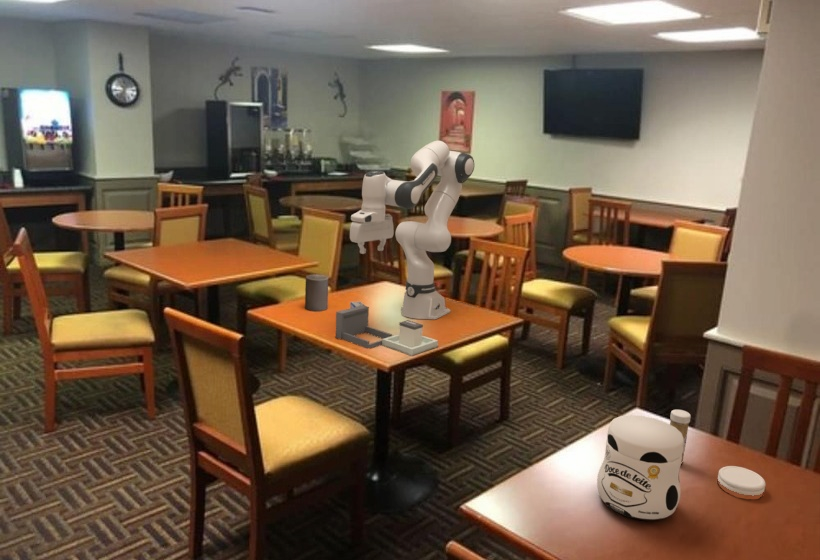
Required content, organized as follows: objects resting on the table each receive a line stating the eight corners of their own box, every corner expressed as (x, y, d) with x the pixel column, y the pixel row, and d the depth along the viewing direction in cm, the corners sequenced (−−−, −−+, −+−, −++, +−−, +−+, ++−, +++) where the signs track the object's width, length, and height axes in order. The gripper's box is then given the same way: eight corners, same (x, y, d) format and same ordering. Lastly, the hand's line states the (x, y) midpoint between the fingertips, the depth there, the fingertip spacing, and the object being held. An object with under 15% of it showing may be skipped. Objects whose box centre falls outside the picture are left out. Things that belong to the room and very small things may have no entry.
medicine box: (349, 322, 265) (349, 301, 263) (359, 321, 267) (360, 301, 265) (355, 328, 258) (356, 307, 256) (366, 327, 260) (367, 306, 258)
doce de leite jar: (599, 521, 140) (609, 443, 136) (591, 479, 157) (600, 409, 152) (685, 533, 137) (698, 454, 133) (667, 489, 154) (679, 418, 150)
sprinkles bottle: (682, 468, 164) (691, 418, 161) (663, 464, 166) (671, 414, 163) (682, 460, 168) (690, 411, 165) (663, 455, 170) (671, 407, 167)
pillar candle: (300, 309, 280) (301, 274, 276) (312, 303, 289) (313, 270, 285) (320, 313, 276) (321, 278, 273) (332, 307, 285) (333, 273, 282)
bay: (362, 329, 257) (363, 305, 255) (394, 340, 246) (395, 315, 244) (335, 337, 247) (336, 311, 244) (367, 349, 236) (368, 322, 234)
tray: (408, 337, 251) (408, 331, 251) (437, 346, 242) (438, 340, 242) (381, 345, 241) (382, 339, 240) (411, 355, 232) (412, 349, 231)
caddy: (406, 340, 245) (407, 319, 244) (421, 345, 241) (422, 323, 239) (398, 343, 242) (399, 321, 240) (413, 348, 238) (414, 326, 236)
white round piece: (767, 504, 150) (770, 490, 150) (720, 496, 153) (723, 482, 152) (757, 482, 160) (760, 469, 159) (713, 475, 162) (715, 462, 161)
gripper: (386, 212, 255) (384, 247, 258) (347, 216, 240) (346, 253, 243) (398, 214, 251) (396, 250, 254) (359, 218, 236) (358, 256, 239)
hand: (371, 252), depth 249 cm, fingers open, 8 cm apart
